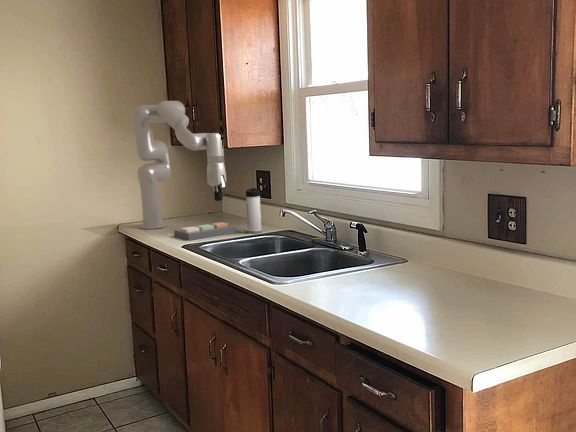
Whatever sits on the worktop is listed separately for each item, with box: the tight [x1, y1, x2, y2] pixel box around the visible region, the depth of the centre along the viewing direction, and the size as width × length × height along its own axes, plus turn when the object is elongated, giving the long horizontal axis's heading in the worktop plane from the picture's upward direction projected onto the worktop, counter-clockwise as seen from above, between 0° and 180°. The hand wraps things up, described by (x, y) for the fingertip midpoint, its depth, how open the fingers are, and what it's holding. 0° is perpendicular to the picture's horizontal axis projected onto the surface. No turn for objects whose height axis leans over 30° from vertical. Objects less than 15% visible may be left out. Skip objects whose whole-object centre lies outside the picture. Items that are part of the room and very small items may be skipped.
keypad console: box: [173, 224, 237, 242], centre depth 296 cm, size 14×24×3 cm, turn 127°
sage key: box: [195, 223, 214, 230], centre depth 296 cm, size 6×6×2 cm
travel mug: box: [245, 187, 262, 235], centre depth 297 cm, size 6×7×20 cm
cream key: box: [180, 226, 199, 233], centre depth 292 cm, size 6×6×2 cm
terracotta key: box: [209, 221, 229, 228], centre depth 301 cm, size 6×6×2 cm
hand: (218, 200), depth 298 cm, fingers closed
